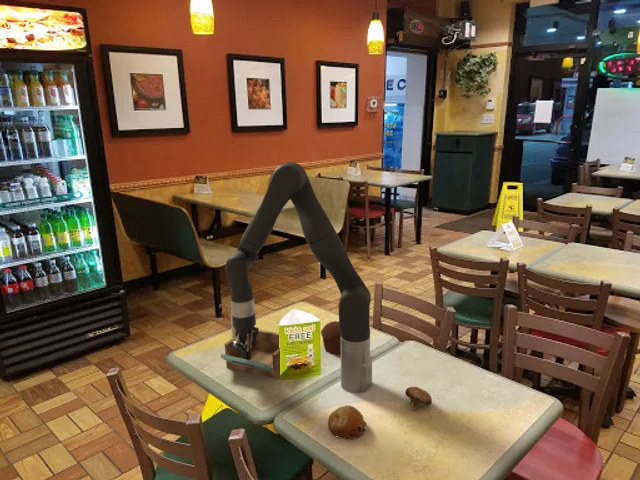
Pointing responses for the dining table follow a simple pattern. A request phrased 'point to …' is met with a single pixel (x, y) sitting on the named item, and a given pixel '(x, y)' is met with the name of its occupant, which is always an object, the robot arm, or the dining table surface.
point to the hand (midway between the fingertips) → (247, 359)
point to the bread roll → (346, 422)
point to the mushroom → (418, 397)
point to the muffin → (332, 337)
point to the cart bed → (259, 354)
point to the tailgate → (246, 363)
